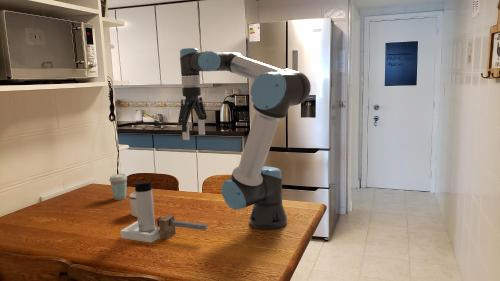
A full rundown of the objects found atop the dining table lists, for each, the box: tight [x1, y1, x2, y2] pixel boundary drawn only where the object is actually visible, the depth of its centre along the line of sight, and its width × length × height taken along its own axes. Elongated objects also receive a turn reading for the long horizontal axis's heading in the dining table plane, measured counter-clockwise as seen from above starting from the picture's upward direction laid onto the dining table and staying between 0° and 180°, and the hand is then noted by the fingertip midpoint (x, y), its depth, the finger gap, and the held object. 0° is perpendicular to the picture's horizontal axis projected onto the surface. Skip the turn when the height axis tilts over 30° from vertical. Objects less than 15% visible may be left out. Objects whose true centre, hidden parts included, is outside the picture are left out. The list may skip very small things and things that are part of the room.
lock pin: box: [154, 215, 208, 231], centre depth 145 cm, size 21×4×4 cm, turn 68°
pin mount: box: [159, 214, 176, 240], centre depth 148 cm, size 3×6×7 cm, turn 158°
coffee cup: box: [109, 173, 128, 201], centre depth 196 cm, size 8×8×12 cm
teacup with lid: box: [128, 191, 138, 218], centre depth 174 cm, size 12×9×12 cm
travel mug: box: [134, 181, 155, 233], centre depth 150 cm, size 6×7×20 cm
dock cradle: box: [120, 220, 160, 243], centre depth 152 cm, size 14×14×3 cm
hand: (194, 137), depth 164 cm, fingers open, 13 cm apart
